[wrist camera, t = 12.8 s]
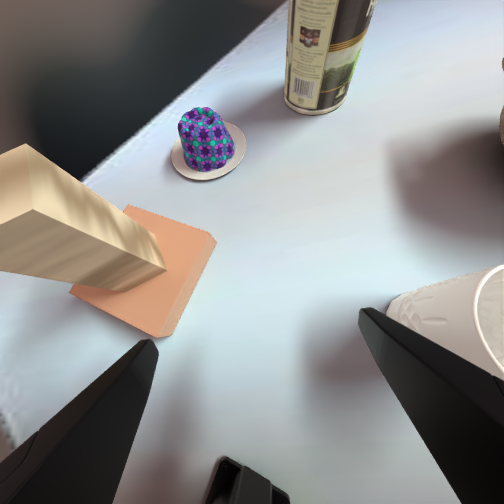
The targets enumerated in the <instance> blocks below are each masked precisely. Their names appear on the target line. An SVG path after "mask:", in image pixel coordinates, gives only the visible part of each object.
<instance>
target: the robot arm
mask: <svg viewBox="0 0 504 504" xmlns="http://www.w3.org/2000/svg"><path fill="white" fill-rule="evenodd" d="M358 324H359V328H360V330H361V332H362V334H363V336H364V338H365V341H366V343H367V345H368V347H369V349H370V351H371V353H372V355H373V357H374V359H375V361H376V363H377V365H378V367H379V369H380V370H381V372H382V374H383V375H384V377H385V379H386V380H387V382H388V384H389V385H390V387H391V388H392V390H393V392H394V393H395V395H396V397H397V398H398V400H399V402H400V403H401V405H402V407H403V408H404V410H405V411H406V413H407V415H408V416H409V418H410V420H411V421H412V423H413V425H414V426H415V428H416V430H417V431H418V433H419V434H420V436H421V438H422V439H423V441H424V443H425V444H426V446H427V448H428V449H429V451H430V453H431V454H432V456H433V458H434V459H435V461H436V462H437V464H438V466H439V467H440V469H441V471H442V472H443V474H444V476H445V477H446V479H447V481H448V482H449V484H450V485H451V487H452V489H453V490H454V492H455V494H456V495H457V497H458V499H459V500H460V502H461V504H504V380H502V379H500V378H498V377H496V376H494V375H491V374H490V373H489V372H487V371H485V370H484V369H482V368H480V367H478V366H476V365H475V364H473V363H471V362H469V361H467V360H466V359H464V358H462V357H460V356H458V355H457V354H455V353H453V352H451V351H449V350H448V349H446V348H444V347H442V346H440V345H439V344H437V343H435V342H433V341H431V340H430V339H428V338H426V337H424V336H422V335H421V334H419V333H417V332H415V331H413V330H412V329H410V328H408V327H406V326H404V325H403V324H401V323H399V322H397V321H395V320H394V319H392V318H390V317H388V316H386V315H385V314H383V313H381V312H379V311H377V310H376V309H374V308H371V307H366V308H361V309H360V311H359V321H358ZM158 356H159V352H158V349H157V348H156V346H155V344H154V342H153V341H152V340H151V339H144V340H141V341H139V342H138V343H137V344H136V345H135V346H133V347H132V348H131V349H130V350H129V351H128V352H127V353H125V354H124V355H123V356H122V357H121V358H120V359H119V360H117V361H116V362H115V363H114V364H113V365H112V366H111V367H109V368H108V369H107V370H106V371H105V372H104V373H103V374H101V375H100V376H99V377H98V378H97V379H96V380H95V381H93V382H92V383H91V384H90V385H89V386H88V387H87V388H85V389H84V390H83V391H82V392H81V393H80V394H79V395H78V396H76V397H75V398H74V399H73V400H72V401H71V402H70V403H68V404H67V405H66V406H65V407H64V408H63V409H62V410H60V411H59V412H58V413H57V414H56V415H55V416H54V417H52V418H51V419H50V420H49V421H48V422H47V423H46V424H44V425H43V426H42V427H41V428H40V429H39V431H36V432H35V433H34V434H33V435H32V436H31V437H30V438H28V439H27V440H26V441H25V442H24V443H23V444H22V445H20V446H19V447H18V448H17V449H16V450H15V451H13V452H12V453H11V454H10V455H9V456H8V457H6V458H5V459H4V460H3V461H2V462H1V463H0V504H112V503H113V500H114V497H115V494H116V491H117V488H118V485H119V482H120V479H121V476H122V473H123V471H124V468H125V465H126V462H127V459H128V456H129V453H130V450H131V447H132V444H133V441H134V438H135V435H136V432H137V429H138V426H139V423H140V420H141V417H142V415H143V412H144V409H145V406H146V403H147V400H148V396H149V393H150V389H151V385H152V381H153V377H154V373H155V369H156V365H157V361H158ZM223 463H226V464H227V466H228V467H224V466H223ZM283 500H284V501H286V502H287V503H286V504H290V498H289V496H288V494H286V493H285V492H284V491H282V490H280V489H279V488H277V487H275V486H274V485H272V484H271V482H270V481H269V480H268V479H266V478H264V477H263V476H261V475H259V474H258V473H256V472H255V471H253V470H251V469H250V468H248V467H247V466H242V465H240V464H238V463H237V462H235V461H233V460H232V459H230V458H229V457H223V458H222V459H221V461H220V464H219V467H218V470H217V473H216V475H215V478H214V481H213V484H212V487H211V490H210V492H209V495H208V498H207V501H206V504H282V501H283Z"/></svg>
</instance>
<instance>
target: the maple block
mask: <svg viewBox="0 0 504 504" xmlns="http://www.w3.org/2000/svg"><path fill="white" fill-rule="evenodd" d="M0 271H5V272H11V273H16V274H22V275H28V276H34V277H39V278H45V279H51V280H57V281H62V282H68V283H74V284H80V285H85V286H91V287H97V288H103V289H108V290H114V291H120V292H127V291H129V290H131V289H133V288H135V287H137V286H139V285H141V284H142V283H144V282H146V281H148V280H150V279H152V278H154V277H156V276H158V275H160V274H161V273H163V272H165V271H167V268H166V265H165V262H164V260H163V257H162V254H161V251H160V249H159V246H158V243H157V241H156V238H155V235H154V234H153V233H151V232H150V231H149V230H147V229H146V228H144V227H143V226H142V225H140V224H139V223H137V222H136V221H135V220H133V219H132V218H130V217H129V216H127V215H126V214H125V213H123V212H122V211H120V210H119V209H118V208H116V207H115V206H113V205H112V204H110V203H109V202H108V201H106V200H105V199H103V198H102V197H101V196H99V195H98V194H96V193H95V192H93V191H92V190H91V189H89V188H88V187H86V186H85V185H84V184H82V183H81V182H79V181H78V180H77V179H75V178H74V177H72V176H71V175H69V174H68V173H67V172H65V171H64V170H62V169H61V168H60V167H58V166H56V165H55V164H54V163H52V162H51V161H49V160H48V159H47V158H45V157H44V156H43V155H41V154H40V153H38V152H37V151H35V150H34V149H33V148H31V147H30V146H28V145H27V144H24V145H21V146H19V147H17V148H15V149H13V150H10V151H8V152H6V153H4V154H1V155H0Z"/></svg>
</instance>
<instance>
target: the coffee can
mask: <svg viewBox="0 0 504 504" xmlns="http://www.w3.org/2000/svg"><path fill="white" fill-rule="evenodd" d="M376 2H377V0H289V8H288V27H287V48H286V69H285V88H284V100H285V102H286V104H287V105H288V106H289V107H290V108H291V109H293V110H294V111H296V112H299V113H302V114H307V115H318V114H324V113H328V112H330V111H333V110H335V109H336V108H338V107H339V106H340V105H341V104H342V103H343V102H344V100H345V98H346V95H347V91H348V87H349V84H350V81H351V78H352V75H353V72H354V69H355V66H356V63H357V60H358V57H359V53H360V50H361V47H362V44H363V41H364V38H365V35H366V32H367V29H368V26H369V23H370V20H371V17H372V14H373V11H374V8H375V5H376Z"/></svg>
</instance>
